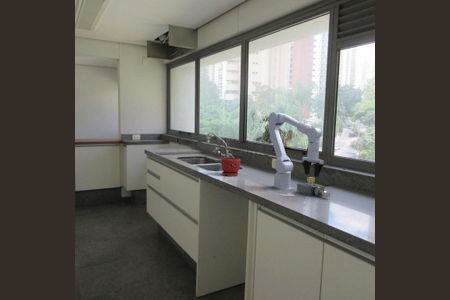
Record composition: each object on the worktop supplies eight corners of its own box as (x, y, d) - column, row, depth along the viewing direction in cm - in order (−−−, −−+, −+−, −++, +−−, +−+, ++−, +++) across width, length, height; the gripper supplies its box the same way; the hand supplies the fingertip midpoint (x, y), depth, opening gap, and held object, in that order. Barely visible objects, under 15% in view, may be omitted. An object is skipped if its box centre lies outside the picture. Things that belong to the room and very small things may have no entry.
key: (310, 189, 172) (311, 176, 172) (314, 190, 170) (314, 177, 169) (306, 190, 171) (307, 177, 170) (310, 191, 169) (310, 178, 168)
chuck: (296, 192, 173) (297, 183, 173) (311, 191, 177) (311, 182, 177) (320, 200, 157) (320, 190, 156) (335, 199, 161) (335, 189, 161)
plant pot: (237, 177, 214) (237, 159, 213) (218, 175, 218) (219, 158, 217) (242, 174, 227) (242, 157, 226) (224, 173, 231) (225, 156, 230)
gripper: (298, 149, 175) (297, 173, 176) (316, 151, 161) (315, 178, 163) (308, 149, 178) (307, 173, 179) (327, 151, 164) (325, 177, 166)
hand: (311, 175), depth 171 cm, fingers open, 7 cm apart
